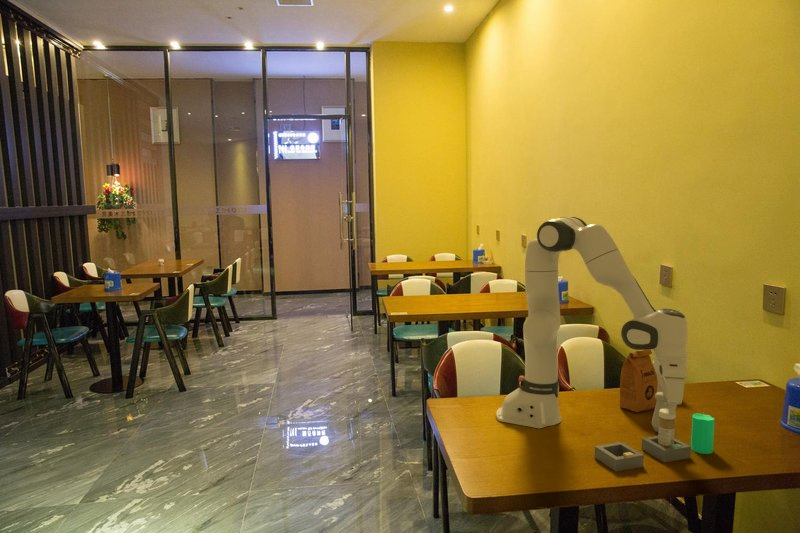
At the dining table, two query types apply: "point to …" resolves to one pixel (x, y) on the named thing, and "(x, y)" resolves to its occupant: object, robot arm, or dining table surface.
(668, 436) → the sprinkles bottle
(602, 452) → the gray open box
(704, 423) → the candle
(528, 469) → the dining table surface
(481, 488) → the dining table surface
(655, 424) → the salt shaker
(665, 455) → the grey square tray
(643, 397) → the coffee package
